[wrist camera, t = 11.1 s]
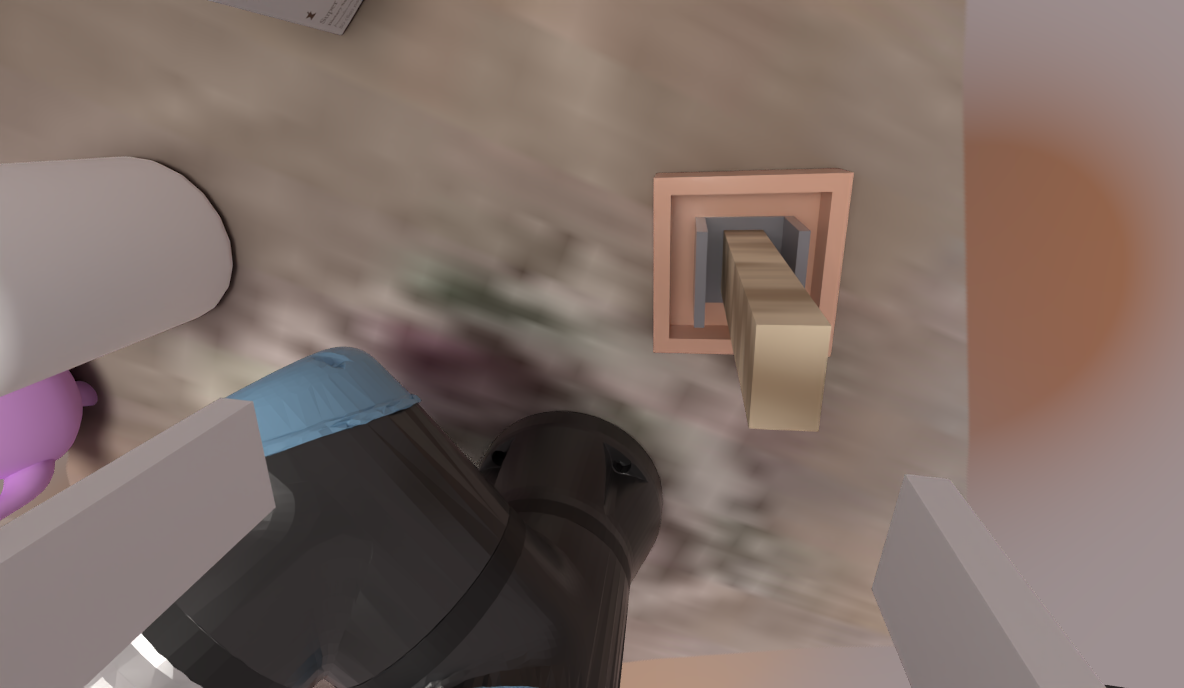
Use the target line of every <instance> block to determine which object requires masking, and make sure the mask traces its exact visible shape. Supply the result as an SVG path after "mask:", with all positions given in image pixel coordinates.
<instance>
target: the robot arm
mask: <svg viewBox="0 0 1184 688" xmlns="http://www.w3.org/2000/svg"><path fill="white" fill-rule="evenodd" d="M419 402H421V399H420V398H419V397H418V396H417V395H415V394H410V393H409V392H408V391H407V390H406V389H405V388H404V387H403V386H402V385H401V384H400V383H399V382H398V381H397V380H396V379H395V378H394V377H393V376H392V375H391V374H390V373H389V372H388V371H387V370H386V369H385V368H384V367H383V366H382V365H381V364H380V363H378V362H377V361H376V360H375V359H374V358H373V357H372V356H371V355H369V354H368V353H366V352H364V351H362V350H360V349H357V348H352V347H335V348H330V349H326V350H323V351H320V352H317V353H314V354H312V355H309V356H307V357H305V358H303V359H300V360H298V361H296V362H294V363H292V364H290V365H288V366H286V367H283V368H281V369H279V370H277V371H275V372H273V373H271V374H269V375H267V376H265V377H263V378H262V379H260V380H258V381H256V382H254V383H252V384H250V385H248V386H246V387H244V388H242V389H240V390H239V391H237V392H235V393H233V394H231V395H229V396H227V397H226V398H219V399H218V400H216V401H214V402H212V403H211V404H209V405H207V406H206V407H204V408H202V409H201V410H199V411H197V412H196V413H194V414H192V415H190V416H189V417H187V418H185V419H184V420H182V421H180V422H179V423H177V424H175V425H173V426H172V427H170V428H168V429H167V430H165V431H163V432H162V433H160V434H158V435H157V436H155V437H153V438H151V439H150V440H148V441H146V442H145V443H143V444H141V445H140V446H138V447H136V448H135V449H133V450H131V451H129V452H128V453H126V454H124V455H123V456H121V457H119V458H118V459H116V460H114V461H112V462H111V463H109V464H107V465H106V466H104V467H102V468H101V469H99V470H97V471H96V472H94V473H92V474H90V475H89V476H87V477H85V478H84V479H82V480H80V481H79V482H77V483H75V484H73V485H72V486H70V487H68V488H67V489H65V490H63V491H62V492H60V493H58V494H57V495H55V496H53V497H51V498H50V499H48V500H47V501H45V502H43V503H41V504H40V505H38V506H36V507H34V508H33V509H31V510H29V511H28V512H26V513H24V514H23V515H21V516H19V517H18V518H16V519H14V520H12V521H11V522H9V523H7V524H6V525H4V526H2V527H1V528H0V688H313V687H314V686H315V685H316V683H318V682H319V681H320V680H322V679H325V680H327V681H328V682H330V683H331V684H333V685H334V686H335V687H336V688H620V679H621V669H622V660H623V650H624V640H625V630H626V620H627V610H628V601H629V590H630V584H631V582H632V580H633V579H634V577H635V575H636V574H637V572H638V570H639V569H640V567H641V565H642V564H643V562H644V560H645V559H646V557H647V555H648V554H649V552H650V550H651V549H652V547H653V545H654V543H655V541H656V538H657V535H658V532H659V528H660V524H661V514H662V487H661V483H660V479H659V476H658V473H657V471H656V468H655V466H654V464H653V463H652V461H651V459H650V458H649V456H648V455H647V453H646V452H645V451H644V450H643V449H642V447H641V446H640V445H639V444H638V443H637V442H636V441H635V440H634V439H633V438H631V437H630V436H629V435H628V434H626V433H625V432H624V431H622V430H621V429H619V428H617V427H616V426H614V425H612V424H610V423H608V422H606V421H604V420H601V419H599V418H596V417H593V416H589V415H586V414H581V413H575V412H558V411H557V412H546V413H540V414H536V415H532V416H529V417H527V418H524V419H522V420H520V421H518V422H516V423H514V424H512V425H511V426H509V427H508V428H507V429H505V430H504V431H503V432H502V433H501V434H500V435H499V436H498V437H497V438H496V439H495V440H494V442H493V443H492V445H491V446H490V448H489V450H488V451H487V453H486V455H485V456H484V458H483V460H482V461H481V463H480V465H479V468H478V469H477V468H476V466H475V465H474V464H473V463H472V462H471V461H470V460H469V459H468V458H467V457H466V456H465V454H464V453H463V452H462V451H461V450H460V449H459V448H458V447H457V446H456V445H455V444H454V442H453V441H452V440H451V439H450V438H449V437H448V436H447V435H446V434H445V433H444V432H443V430H442V429H441V428H440V427H439V426H438V425H437V424H436V423H435V422H434V421H433V420H432V418H431V417H430V416H429V415H428V414H427V413H426V412H425V411H424V410H423V409H422V407H421V406H420V405H419V404H418V403H419ZM872 591H873V593H874V596H875V598H876V601H877V603H878V606H879V608H880V611H881V613H882V616H883V618H884V621H885V623H886V626H887V628H888V631H889V633H890V636H891V638H892V640H893V643H894V645H895V648H896V650H897V653H898V655H899V658H900V660H901V663H902V665H903V668H904V670H905V672H906V675H907V677H908V680H909V682H910V685H911V688H1123V687H1116V686H1110V685H1104V684H1103V683H1102V681H1101V680H1100V679H1099V678H1098V676H1097V675H1096V673H1095V672H1094V671H1093V670H1092V668H1091V667H1090V665H1089V664H1088V663H1087V661H1086V660H1085V659H1084V658H1083V656H1082V655H1081V654H1080V652H1079V651H1078V649H1077V648H1076V647H1075V646H1074V644H1073V643H1072V642H1071V640H1070V639H1069V637H1068V636H1067V635H1066V634H1065V632H1064V631H1063V630H1062V628H1061V627H1060V625H1059V624H1058V623H1057V621H1056V620H1055V619H1054V617H1053V616H1052V615H1051V613H1050V612H1049V611H1048V609H1047V608H1046V607H1045V605H1044V604H1043V603H1042V601H1041V600H1040V599H1039V597H1038V596H1037V595H1036V594H1035V592H1034V591H1033V589H1032V588H1031V587H1030V585H1029V584H1028V583H1027V581H1026V580H1025V579H1024V577H1023V576H1022V575H1021V573H1020V572H1019V571H1018V569H1017V568H1016V567H1015V565H1014V564H1013V563H1012V561H1011V560H1010V559H1009V557H1008V556H1007V555H1006V553H1005V552H1004V551H1003V550H1002V548H1001V547H1000V545H999V544H998V543H997V541H996V540H995V539H994V537H993V536H992V535H991V533H990V532H989V531H988V529H987V528H986V527H985V525H984V524H983V523H982V521H981V520H980V519H979V517H978V516H977V515H976V513H975V512H974V511H973V509H972V508H971V507H970V505H969V504H968V503H967V501H966V500H965V499H964V497H963V496H962V495H961V493H960V492H959V491H958V489H957V488H956V487H955V485H954V484H953V483H952V481H951V480H950V479H947V478H938V477H929V476H920V475H911V474H905V475H904V479H903V482H902V486H901V489H900V493H899V496H898V500H897V503H896V506H895V510H894V513H893V517H892V520H891V524H890V527H889V531H888V534H887V538H886V541H885V545H884V548H883V552H882V555H881V558H880V562H879V565H878V569H877V572H876V576H875V579H874V583H873V586H872Z"/></svg>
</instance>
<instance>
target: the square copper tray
mask: <svg viewBox="0 0 1184 688" xmlns="http://www.w3.org/2000/svg"><path fill="white" fill-rule="evenodd" d="M853 175H854V173H853V172H850V171H846V170H843V169H840V168H821V169H785V170H749V171H713V172H677V173H656V175H655V177H654V337H653V352H654V353H697V354H734V353H733V348H732V343H731V338H730V333H729V328H728V324H727V319H726V314H725V309H724V304H723V299H722V294H721V277H722V256H723V235H724V230H764V232H765V233H766V235H767V236H768V237H769V239H770V240H771V242H772V243H773V245H774V246H775V247H776V249H777V250H778V252H779V253H780V254H781V256H782V257H783V259H784V260H785V261H786V263H787V264H788V266H789V267H790V268H791V270H792V271H793V273H794V274H795V275H796V277H797V278H798V280H799V281H800V282H801V284H802V285H803V287H804V288H805V289H806V291H807V292H808V294H809V295H810V296H811V298H812V299H813V301H814V302H815V303H816V305H817V306H818V308H819V309H820V310H821V312H822V313H823V315H824V316H825V317H826V319H827V320H828V322H829V323H830V324H831V334H830V342H829V351H828V357H831V349H832V342H833V334H834V326H835V318H836V310H837V302H838V294H839V286H840V278H841V270H842V262H843V254H844V247H845V239H846V231H847V223H848V215H849V207H850V199H851V191H852V183H853Z"/></svg>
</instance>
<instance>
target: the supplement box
mask: <svg viewBox="0 0 1184 688" xmlns="http://www.w3.org/2000/svg"><path fill="white" fill-rule="evenodd" d="M209 1H212V2H216V3H220V4H224V5H228V6H232V7H235V8H239V9H243V10H247V11H251V12H254V13H258V14H262V15H266V16H269V17H273V18H277V19H281V20H285V21H288V22H292V23H296V24H300V25H304V26H307V27H311V28H315V29H319V30H323V31H326V32H330V33H334V34H337V35H342V34H343V32H344V30H345V29H346V27H347V26H348V24H349V22H350V21H351V19H352V17H353V16H354V14H355V12H356V11H357V9H358V7H359V6H360V4H361V2H362V1H363V0H209Z"/></svg>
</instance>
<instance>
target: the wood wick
mask: <svg viewBox="0 0 1184 688" xmlns="http://www.w3.org/2000/svg"><path fill="white" fill-rule="evenodd" d="M721 294H722V299H723V304H724V309H725V314H726V319H727V324H728V328H729V333H730V338H731V343H732V348H733V353H734V358H735V363H736V368H737V373H738V377H739V382H740V387H741V392H742V397H743V402H744V407H745V412H746V417H747V422H748V426H749V429H769V430H792V431H815V432H818V431H819V423H820V415H821V407H822V399H823V391H824V383H825V375H826V367H827V359H828V351H829V342H830V334H831V324H830V323H829V322H828V320H827V319H826V317H825V316H824V315H823V313H822V312H821V310H820V309H819V308H818V306H817V305H816V303H815V302H814V301H813V299H812V298H811V296H810V295H809V294H808V292H807V291H806V289H805V288H804V287H803V285H802V284H801V282H800V281H799V280H798V278H797V277H796V275H795V274H794V273H793V271H792V270H791V268H790V267H789V266H788V264H787V263H786V261H785V260H784V259H783V257H782V256H781V254H780V253H779V252H778V250H777V249H776V247H775V246H774V245H773V243H772V242H771V240H770V239H769V237H768V236H767V235H766V233H765V232H764V230H724V235H723V256H722V277H721Z"/></svg>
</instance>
